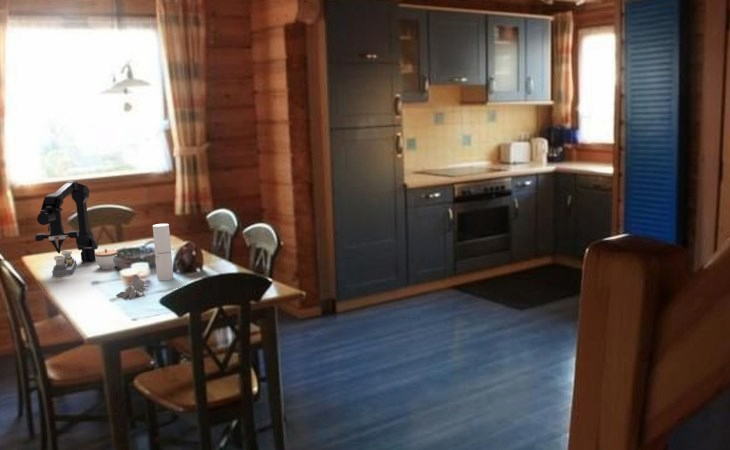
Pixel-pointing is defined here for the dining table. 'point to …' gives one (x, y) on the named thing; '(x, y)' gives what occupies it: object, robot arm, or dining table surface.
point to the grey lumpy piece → (133, 288)
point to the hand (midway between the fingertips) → (59, 253)
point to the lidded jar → (105, 258)
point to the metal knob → (69, 261)
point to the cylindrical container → (163, 251)
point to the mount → (64, 269)
